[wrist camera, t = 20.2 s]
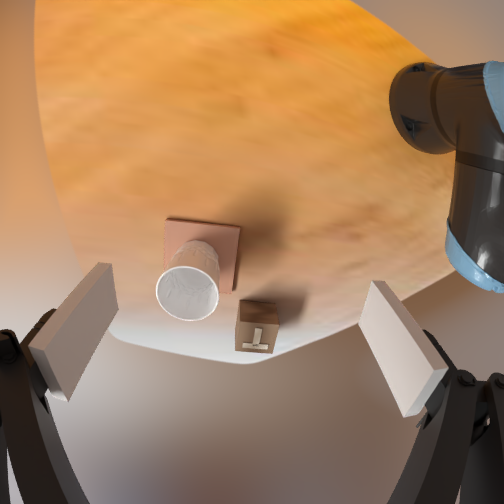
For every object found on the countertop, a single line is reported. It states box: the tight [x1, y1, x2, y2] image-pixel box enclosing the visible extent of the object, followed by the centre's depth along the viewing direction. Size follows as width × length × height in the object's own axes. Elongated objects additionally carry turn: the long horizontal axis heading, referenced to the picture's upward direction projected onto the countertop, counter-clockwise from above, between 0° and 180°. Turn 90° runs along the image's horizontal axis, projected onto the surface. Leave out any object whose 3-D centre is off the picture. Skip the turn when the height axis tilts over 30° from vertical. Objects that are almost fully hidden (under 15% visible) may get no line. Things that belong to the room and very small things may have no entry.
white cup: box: [156, 240, 220, 321], centre depth 40 cm, size 8×8×10 cm
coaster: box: [164, 219, 240, 294], centre depth 45 cm, size 11×11×1 cm
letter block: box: [235, 300, 280, 354], centre depth 47 cm, size 6×6×6 cm
